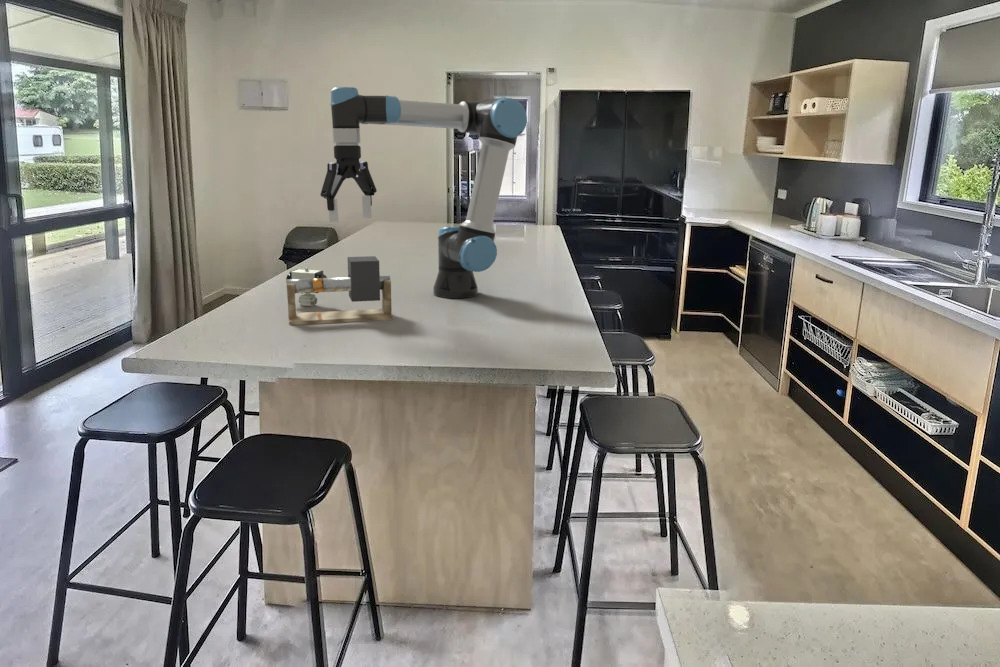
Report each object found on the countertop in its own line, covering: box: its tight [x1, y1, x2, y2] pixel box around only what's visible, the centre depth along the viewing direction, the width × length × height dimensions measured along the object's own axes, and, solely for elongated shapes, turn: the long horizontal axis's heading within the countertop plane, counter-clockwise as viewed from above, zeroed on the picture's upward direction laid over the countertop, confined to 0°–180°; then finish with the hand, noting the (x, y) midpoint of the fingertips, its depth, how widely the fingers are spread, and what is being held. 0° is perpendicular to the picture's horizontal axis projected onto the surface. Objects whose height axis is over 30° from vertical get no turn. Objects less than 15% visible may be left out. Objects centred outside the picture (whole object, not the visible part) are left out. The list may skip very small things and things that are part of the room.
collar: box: [347, 255, 381, 303], centre depth 207 cm, size 8×9×12 cm
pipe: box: [285, 275, 391, 294], centre depth 205 cm, size 29×4×4 cm, turn 107°
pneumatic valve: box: [285, 267, 328, 308], centre depth 222 cm, size 6×12×12 cm, turn 78°
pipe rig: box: [286, 279, 394, 326], centre depth 207 cm, size 29×10×11 cm, turn 107°
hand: (351, 219), depth 208 cm, fingers open, 13 cm apart
